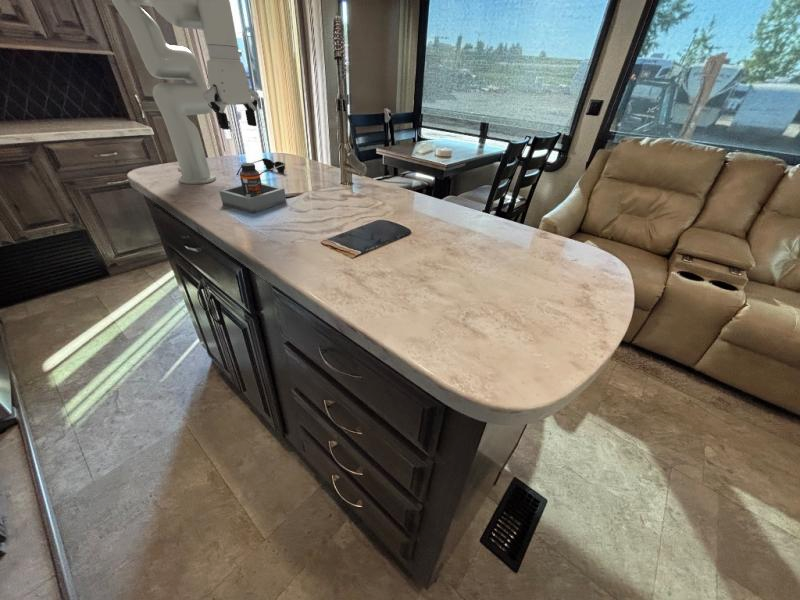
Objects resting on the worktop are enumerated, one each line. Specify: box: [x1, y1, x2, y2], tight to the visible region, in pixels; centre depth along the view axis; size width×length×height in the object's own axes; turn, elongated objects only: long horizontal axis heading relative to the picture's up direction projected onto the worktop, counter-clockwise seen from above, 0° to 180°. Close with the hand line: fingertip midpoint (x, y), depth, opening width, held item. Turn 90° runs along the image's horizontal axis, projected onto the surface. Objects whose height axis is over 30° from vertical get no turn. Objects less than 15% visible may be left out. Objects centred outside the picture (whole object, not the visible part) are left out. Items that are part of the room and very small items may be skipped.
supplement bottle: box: [239, 162, 263, 197], centre depth 105 cm, size 6×6×11 cm
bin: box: [218, 182, 287, 214], centre depth 108 cm, size 14×14×4 cm
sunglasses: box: [236, 158, 286, 176], centre depth 137 cm, size 14×16×5 cm
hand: (239, 127), depth 96 cm, fingers open, 9 cm apart
